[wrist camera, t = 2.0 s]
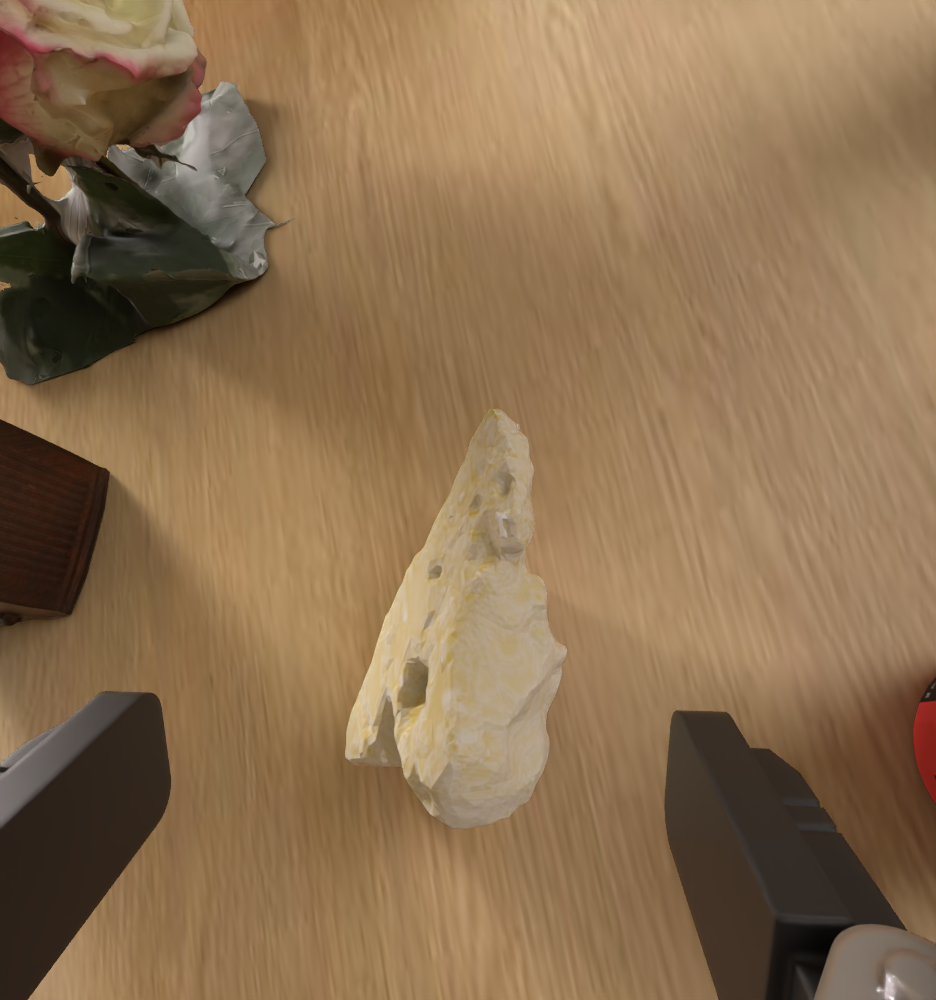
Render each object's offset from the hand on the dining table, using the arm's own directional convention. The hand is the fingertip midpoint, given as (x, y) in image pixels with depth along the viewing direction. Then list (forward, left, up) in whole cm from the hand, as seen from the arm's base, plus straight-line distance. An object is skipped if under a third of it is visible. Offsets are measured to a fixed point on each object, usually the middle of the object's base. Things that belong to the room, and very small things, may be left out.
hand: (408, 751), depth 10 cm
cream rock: (+1, -7, -21) cm, 22 cm away
